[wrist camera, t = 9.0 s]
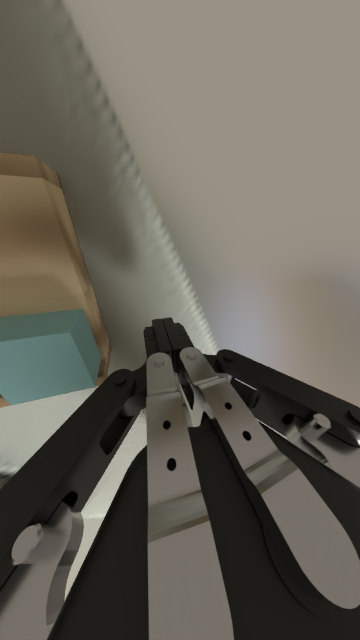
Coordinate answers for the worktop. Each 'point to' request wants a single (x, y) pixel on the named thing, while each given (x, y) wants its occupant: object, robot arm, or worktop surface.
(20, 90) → the worktop surface
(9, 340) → the block
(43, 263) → the board
